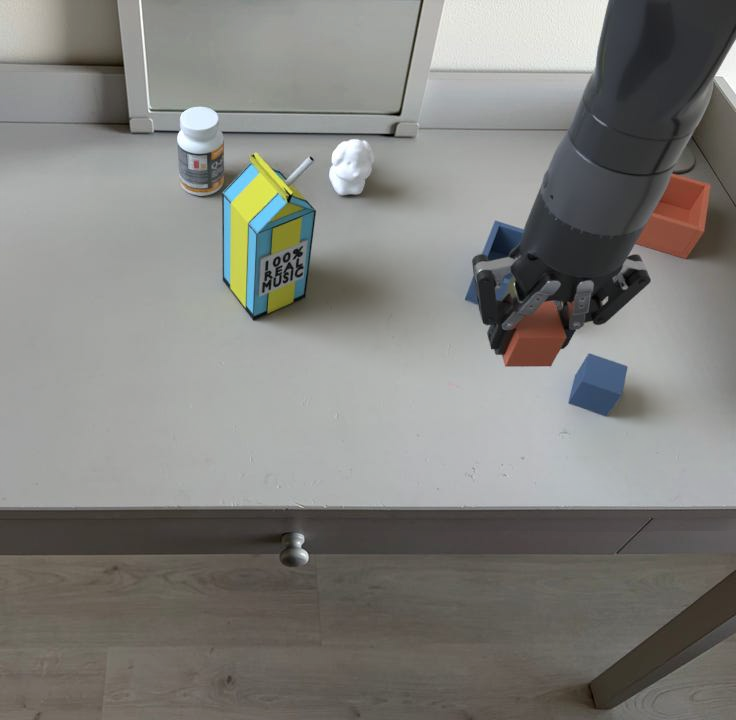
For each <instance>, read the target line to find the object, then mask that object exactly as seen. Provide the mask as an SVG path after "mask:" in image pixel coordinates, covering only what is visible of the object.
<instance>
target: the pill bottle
mask: <svg viewBox="0 0 736 720" xmlns="http://www.w3.org/2000/svg"><path fill="white" fill-rule="evenodd" d="M179 128H180V130H179V131H178V134H177V137H176V145H177V159H178V160H177V161H178V174H179V175H178V176H179V183H180V186H181V187H182V189H183V190H184V191H185V192H187V193H188V194H190V195H193V196H200V197H203V196H204V197H206V196H211V195H213V194H215V193H217V192H218V191H220V190H221V188H223V185H224V182H225V179H224V178H225V138H224V134H223V132H222V130H221V128H220V116H219V114H218V113H217V112H216V111H215V110H213V109H212V108H210V107H206V106H193V107H190V108H187V109H185V110H184V111H182V113H181V115H180V118H179Z"/></svg>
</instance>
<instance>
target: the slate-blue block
mask: <svg viewBox="0 0 736 720" xmlns="http://www.w3.org/2000/svg"><path fill="white" fill-rule="evenodd" d="M627 372H628V365H625V364H623V363H619V362H616V361H614V360H611V359H608V358H604V357H602V356H599V355H596V354H593V353H587V355H586V357H585V358H584V360H583V362H582V363H581V364H580V367H579V368H578V370H577V371H576V373H575V374H574V379H573V383H572V386H571V390H570V394H569V398H568V404H570V405H573V406H576V407H579V408H581V409H584V410H587V411H590V412H593V413H596V414H599V415H601V416H604V417H607V416H608V415H609V414H610V413H611V411H612V410H613V409H614V407H615V405H616V404H617V403H618V402H619V400H620V399H621V397H623V392H624V388H625V383H626V376H627Z"/></svg>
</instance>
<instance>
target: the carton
mask: <svg viewBox="0 0 736 720" xmlns="http://www.w3.org/2000/svg"><path fill="white" fill-rule="evenodd" d="M248 158H249V160H250V161H249V163H248V165H247V166H246V167H245V168H244V169H243V170H242V171H241V172H240V173H239V174H238V175H237V177H235V178H234V180H233V181H232V182H231V183H230V184H228V186H227V187H225V189H224V190H223V191H222V192H221V198H222V199H221V202H222V203H221V205H222V208H221V209H222V210H221V212H222V213H221V214H222V219H221V220H222V221H221V222H222V233H221V234H222V282H223V283H224V285H226V287H227V288H228V289H229V291H230V292H231V294H232V295H233V296H234V297H235V298H236V300H237V301H238V302H239V304H240V305H241V306H242V308H243V309H244V311H245V312H246V313H247V315H248V316H249V317H250V319H252V321H256V320H258V319H260V318H262V317H265V316H266V315H269V314H271V313H273V312H276V311H278V310H280V309H282V308H285V307H287V306H289V305H291V304H294V303H296V302H298V301H301V300H304V299H305V298H306V296H307V288H308V280H309V271H310V263H311V254H312V247H313V240H314V231H315V223H316V215H317V214H316V213H317V209H315V208H314V207H313V206H312V204H310V202H309V201H308V200H307V199H306V198H305V197H304V196H303V195H302V194H301V193H300V191H298V189H297V188H296V187H295V186H294V185H293V184H294V183H295V182H296V181H297V180H298V178H299V177H301V176H302V175H303V174H304V172H306V171H307V169H309V167H310V166H311V165H312V164H313V163H315V159H314V157H313V156H311V155H309V156H308V157H307V158H306V159H305V160H304V161H303V162H302V163H301V164H300V165H299V166H298V167H297V168H296V169H295V170H294V171H293V172H292V173H291V174H290V175H289V176H288V178H286V176H285V175H284V174H283V173H282V172H281V171H280V170H278V169H275V168H272V167H271V166H270V165H269V164H268V163H267V162H266V161H265V159H263V158H262V157H261V156H260V154H259V153H257V151H256V152H254V153H253V154H248Z"/></svg>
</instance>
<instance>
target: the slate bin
mask: <svg viewBox="0 0 736 720" xmlns="http://www.w3.org/2000/svg"><path fill="white" fill-rule="evenodd" d="M523 232H524V228H520V227H517V226H514V225H512V224H508V223H506V222H502V221H499V220H494V222H493V224H492V227H491V230H490V232H489V234H488V237H487V240H486V242H485V245H484V248H483V250H482V253H481V254H484V255H486V256H487V257H488V261H492V260H496V259H501V258H505V257H508V255H509V253H510V252H511V250H512V249H514V248H515V247H516V246H517V245H518V244H519V243H520V241H521V239H522V236H523ZM472 276H473V277H472V279H471V282H470V285H469V287H468V290H467V292H466V295H465V297H464V301H466V302H468V303H473V304H476V305H478V302H477V297H476V289H475V281H474V275H472ZM512 277H513V274H512V273H510V274H508V275H506V276H505V277H504V280H503V283H502V284H500V286H501V288H500V289H499V290H495V294H496V300H499V299H500V298H501V297H502V295H503V294H504V293H505V292H506V290H507V288H508V283H509V281H510V279H511V278H512ZM552 301H554V302H555V305H556V307H557V306H558V304H559V302H560V301H556V300H552Z"/></svg>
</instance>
